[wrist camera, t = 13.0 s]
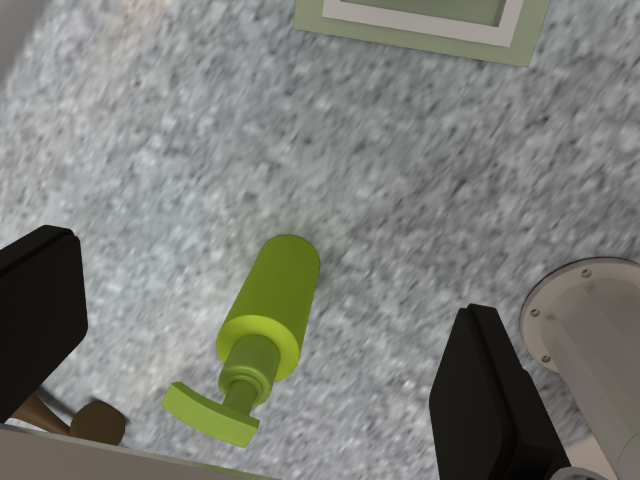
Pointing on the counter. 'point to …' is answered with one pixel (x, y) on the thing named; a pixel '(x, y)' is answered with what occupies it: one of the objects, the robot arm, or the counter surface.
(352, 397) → the counter surface
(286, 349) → the soap dispenser
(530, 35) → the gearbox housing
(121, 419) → the kendama
